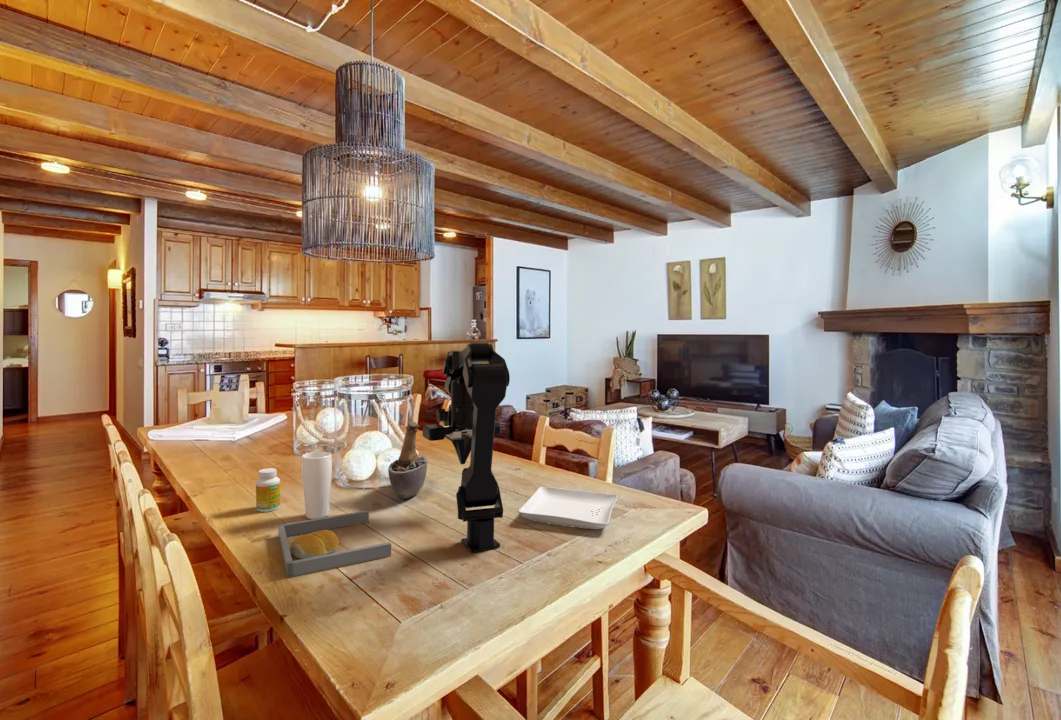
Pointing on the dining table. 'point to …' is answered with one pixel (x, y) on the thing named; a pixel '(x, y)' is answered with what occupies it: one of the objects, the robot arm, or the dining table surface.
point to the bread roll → (314, 544)
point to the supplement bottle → (267, 490)
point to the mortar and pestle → (408, 466)
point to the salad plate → (569, 507)
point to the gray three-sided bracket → (334, 558)
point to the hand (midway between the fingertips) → (462, 463)
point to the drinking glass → (316, 483)
